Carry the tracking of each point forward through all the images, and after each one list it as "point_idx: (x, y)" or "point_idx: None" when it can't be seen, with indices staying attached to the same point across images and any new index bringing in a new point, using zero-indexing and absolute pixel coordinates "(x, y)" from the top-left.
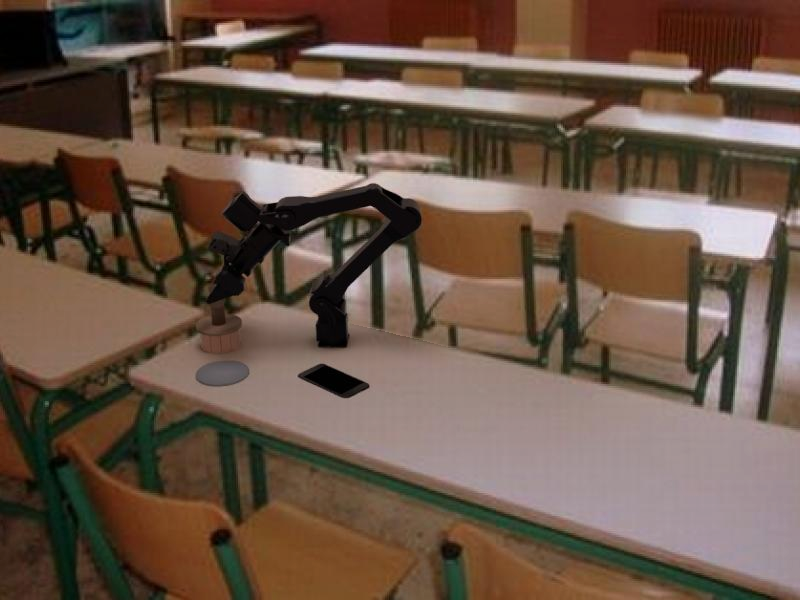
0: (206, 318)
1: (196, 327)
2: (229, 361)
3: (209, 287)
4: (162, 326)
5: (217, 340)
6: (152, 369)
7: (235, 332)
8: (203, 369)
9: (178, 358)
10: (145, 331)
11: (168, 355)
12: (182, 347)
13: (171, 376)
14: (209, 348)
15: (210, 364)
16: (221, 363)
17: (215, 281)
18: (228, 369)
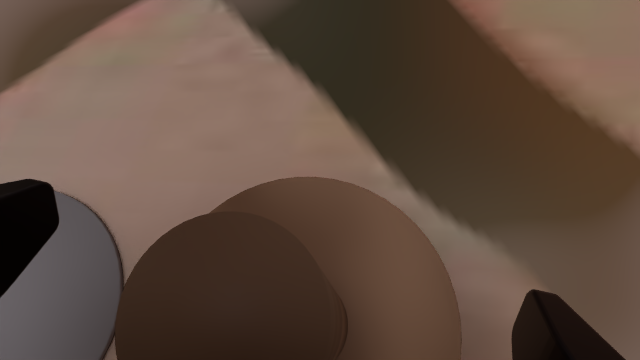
0: (401, 246)
1: (281, 179)
2: (91, 347)
3: (209, 225)
4: (601, 65)
5: None
6: (174, 39)
7: None
8: (65, 221)
9: (234, 128)
10: (552, 3)
11: (277, 91)
12: (340, 146)
13: (86, 102)
14: None
15: (99, 255)
16: (87, 306)
17: (543, 344)
18: (12, 333)
